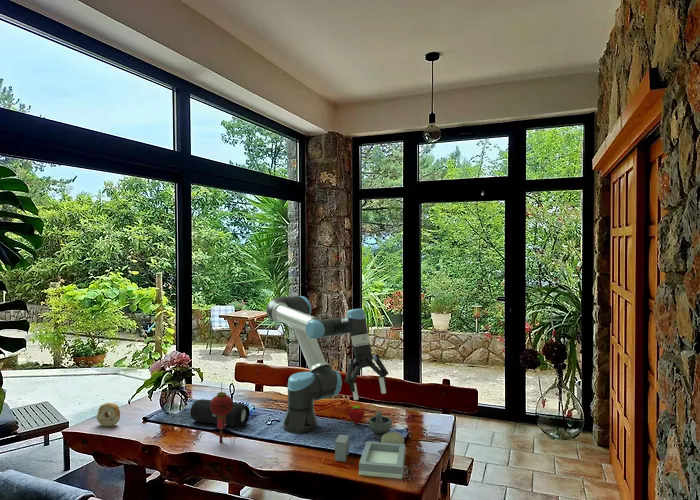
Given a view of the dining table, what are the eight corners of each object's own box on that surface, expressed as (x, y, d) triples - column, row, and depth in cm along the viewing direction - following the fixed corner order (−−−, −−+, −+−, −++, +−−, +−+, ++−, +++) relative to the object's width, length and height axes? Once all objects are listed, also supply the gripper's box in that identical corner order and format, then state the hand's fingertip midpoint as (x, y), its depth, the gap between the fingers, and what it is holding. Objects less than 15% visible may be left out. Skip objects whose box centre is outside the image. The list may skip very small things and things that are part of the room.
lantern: (207, 439, 193) (208, 367, 193) (230, 436, 196) (231, 365, 197) (210, 448, 184) (211, 372, 184) (234, 445, 188) (235, 370, 188)
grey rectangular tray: (358, 474, 163) (359, 463, 163) (366, 451, 183) (366, 441, 183) (401, 478, 161) (402, 467, 161) (405, 454, 180) (405, 444, 180)
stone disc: (122, 424, 209) (122, 402, 209) (116, 427, 205) (116, 405, 205) (101, 423, 210) (101, 400, 211) (95, 426, 207) (96, 403, 207)
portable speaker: (188, 424, 210) (189, 402, 210) (201, 417, 220) (201, 396, 220) (239, 430, 203) (240, 407, 204) (250, 423, 213) (250, 401, 213)
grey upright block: (334, 460, 174) (335, 441, 174) (338, 452, 181) (338, 434, 181) (345, 461, 174) (345, 442, 174) (348, 453, 181) (348, 435, 181)
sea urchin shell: (377, 436, 193) (390, 422, 194) (390, 449, 194) (403, 435, 194) (380, 445, 184) (394, 430, 185) (394, 459, 185) (408, 444, 185)
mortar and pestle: (371, 430, 205) (371, 403, 205) (392, 432, 203) (392, 405, 203) (366, 440, 194) (366, 411, 194) (389, 442, 192) (389, 413, 192)
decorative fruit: (363, 427, 208) (363, 405, 208) (346, 426, 210) (347, 403, 210) (365, 423, 214) (366, 401, 214) (349, 421, 216) (350, 399, 216)
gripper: (339, 348, 189) (348, 402, 185) (390, 340, 202) (399, 390, 197) (331, 350, 196) (339, 402, 191) (381, 341, 208) (390, 390, 203)
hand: (370, 396), depth 194 cm, fingers open, 13 cm apart
